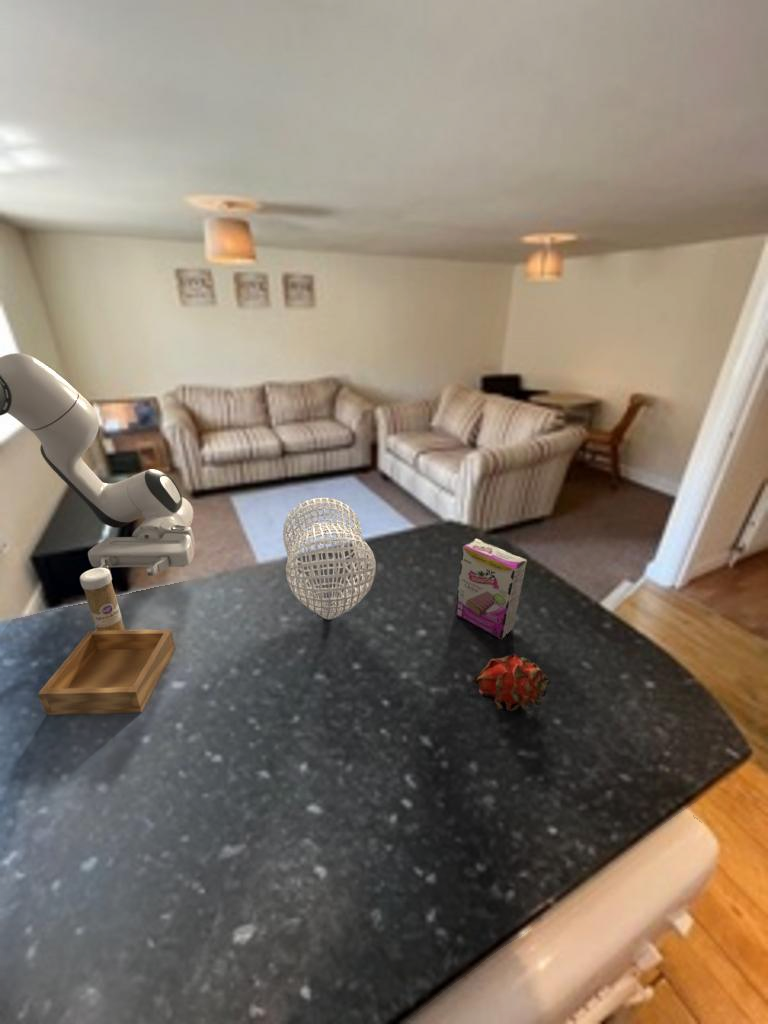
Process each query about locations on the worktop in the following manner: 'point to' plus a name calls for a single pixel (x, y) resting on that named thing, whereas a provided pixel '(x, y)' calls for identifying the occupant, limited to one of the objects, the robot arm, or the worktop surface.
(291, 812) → the worktop surface
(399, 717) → the worktop surface
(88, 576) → the sprinkles bottle
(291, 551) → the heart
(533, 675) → the dragon fruit
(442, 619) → the worktop surface
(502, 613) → the candy bar box
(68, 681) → the holder
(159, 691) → the worktop surface
